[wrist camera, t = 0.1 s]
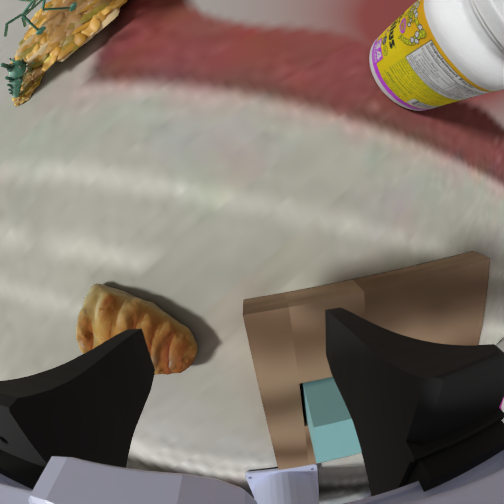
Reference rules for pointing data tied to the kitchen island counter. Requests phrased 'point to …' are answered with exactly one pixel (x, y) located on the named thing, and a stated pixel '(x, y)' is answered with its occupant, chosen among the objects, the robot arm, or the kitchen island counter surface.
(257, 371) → the walnut pocket plate
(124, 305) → the pastry
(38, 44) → the frog figurine
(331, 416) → the teal block
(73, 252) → the kitchen island counter surface
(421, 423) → the robot arm
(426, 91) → the supplement bottle
